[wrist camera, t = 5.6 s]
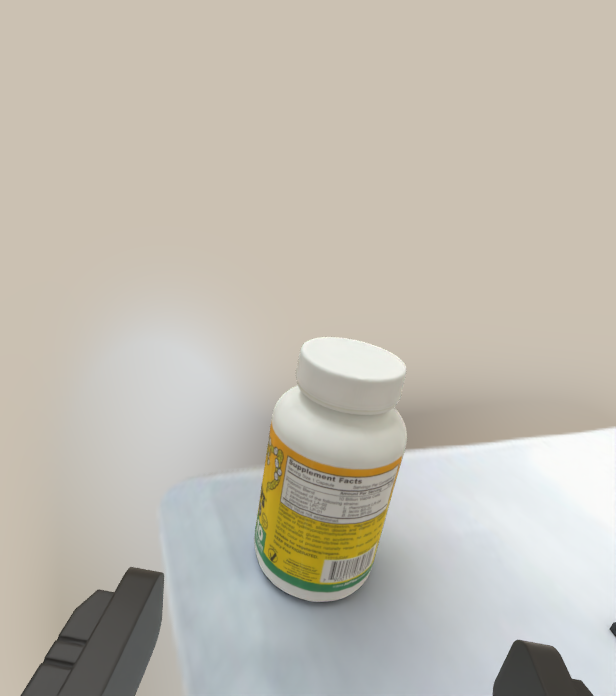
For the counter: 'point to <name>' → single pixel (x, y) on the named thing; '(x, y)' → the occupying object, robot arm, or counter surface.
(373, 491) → the supplement bottle
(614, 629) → the mat
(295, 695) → the counter surface
